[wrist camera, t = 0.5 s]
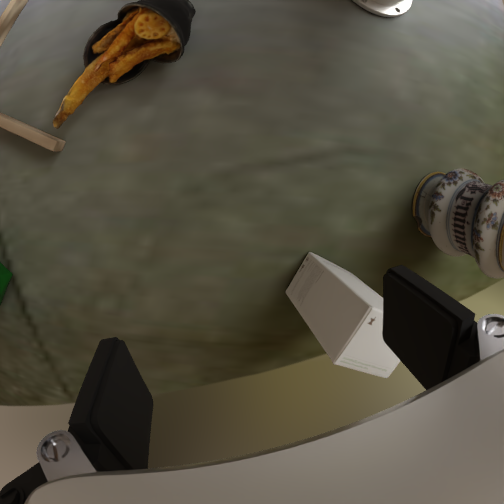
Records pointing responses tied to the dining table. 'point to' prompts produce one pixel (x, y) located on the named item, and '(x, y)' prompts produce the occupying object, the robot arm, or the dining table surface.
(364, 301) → the skincare box
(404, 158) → the dining table surface
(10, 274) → the milk carton
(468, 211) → the apothecary jar
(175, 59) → the fried shrimp in bowl
